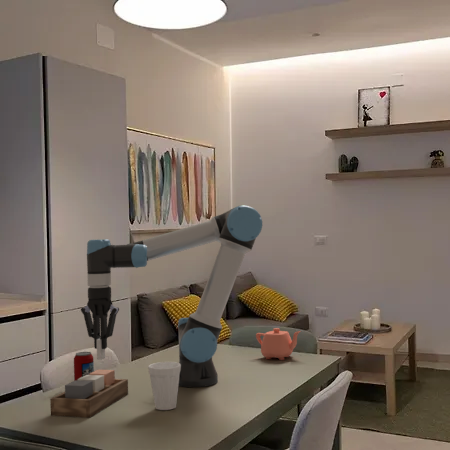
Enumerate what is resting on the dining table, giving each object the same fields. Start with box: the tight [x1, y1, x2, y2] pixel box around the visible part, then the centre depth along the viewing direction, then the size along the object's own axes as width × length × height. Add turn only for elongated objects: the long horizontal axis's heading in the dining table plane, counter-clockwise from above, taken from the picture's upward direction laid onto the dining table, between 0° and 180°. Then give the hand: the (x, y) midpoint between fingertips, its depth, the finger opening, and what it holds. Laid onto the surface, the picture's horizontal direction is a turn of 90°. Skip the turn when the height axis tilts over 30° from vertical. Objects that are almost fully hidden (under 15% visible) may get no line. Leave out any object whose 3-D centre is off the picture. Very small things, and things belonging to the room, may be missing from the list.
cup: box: [147, 361, 181, 411], centre depth 187 cm, size 10×10×13 cm
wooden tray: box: [49, 378, 129, 419], centre depth 193 cm, size 13×26×5 cm, turn 164°
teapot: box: [255, 327, 302, 361], centre depth 255 cm, size 13×20×12 cm, turn 65°
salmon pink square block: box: [89, 369, 116, 386], centre depth 201 cm, size 6×6×4 cm
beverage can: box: [73, 351, 95, 381], centre depth 215 cm, size 7×7×12 cm
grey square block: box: [64, 380, 93, 399], centre depth 186 cm, size 6×6×4 cm
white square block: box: [78, 375, 104, 392], centre depth 193 cm, size 6×6×4 cm
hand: (100, 358), depth 201 cm, fingers closed
